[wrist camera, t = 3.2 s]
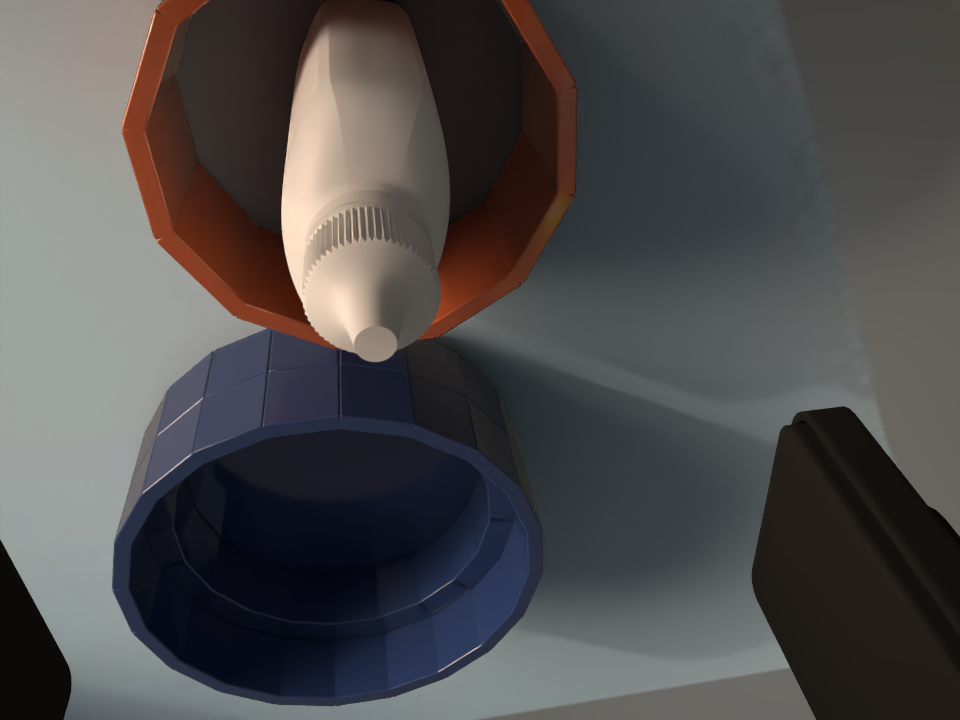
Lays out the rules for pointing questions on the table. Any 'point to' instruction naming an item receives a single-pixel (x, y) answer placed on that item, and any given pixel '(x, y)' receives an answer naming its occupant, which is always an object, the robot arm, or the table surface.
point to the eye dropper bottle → (365, 181)
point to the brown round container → (260, 252)
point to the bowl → (326, 522)
